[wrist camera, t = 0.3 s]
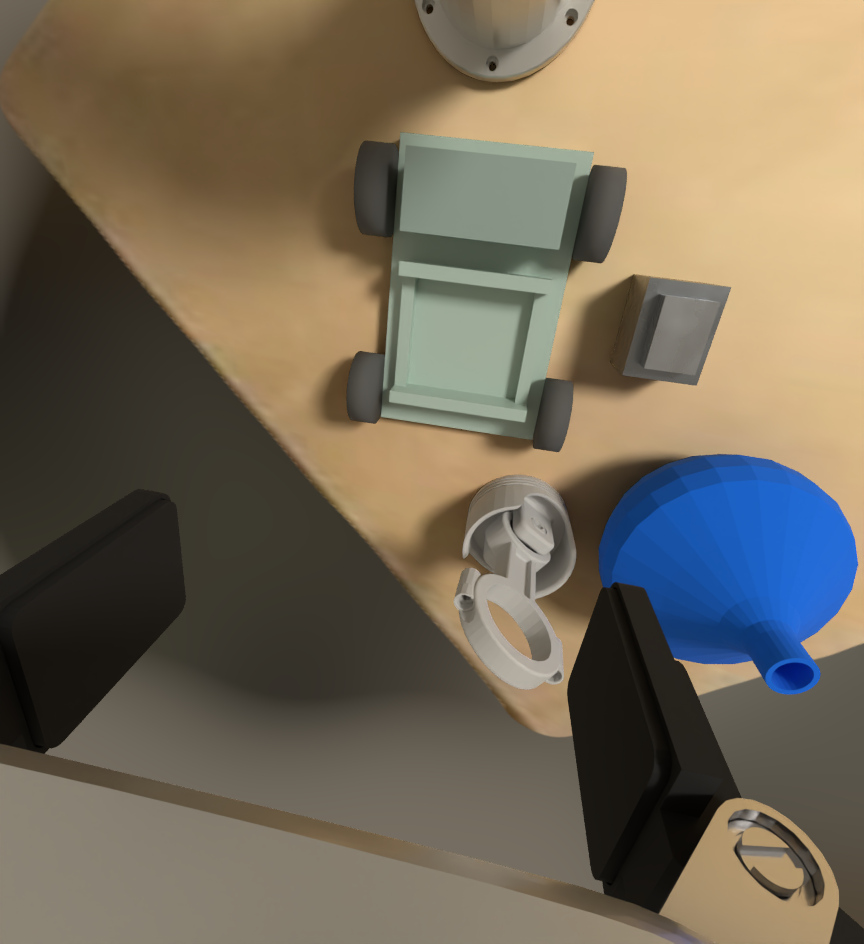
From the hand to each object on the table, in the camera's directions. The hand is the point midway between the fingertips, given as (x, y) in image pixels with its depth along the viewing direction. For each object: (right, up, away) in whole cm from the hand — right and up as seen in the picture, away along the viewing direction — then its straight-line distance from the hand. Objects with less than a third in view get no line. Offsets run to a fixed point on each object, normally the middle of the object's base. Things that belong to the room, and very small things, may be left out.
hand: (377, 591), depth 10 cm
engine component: (+9, -2, +38) cm, 40 cm away
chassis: (+5, +17, +30) cm, 35 cm away
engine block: (+20, +15, +29) cm, 38 cm away
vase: (+26, -2, +36) cm, 44 cm away
